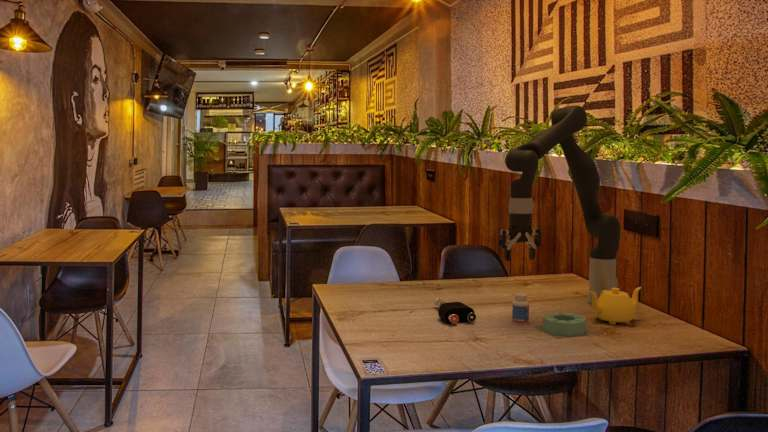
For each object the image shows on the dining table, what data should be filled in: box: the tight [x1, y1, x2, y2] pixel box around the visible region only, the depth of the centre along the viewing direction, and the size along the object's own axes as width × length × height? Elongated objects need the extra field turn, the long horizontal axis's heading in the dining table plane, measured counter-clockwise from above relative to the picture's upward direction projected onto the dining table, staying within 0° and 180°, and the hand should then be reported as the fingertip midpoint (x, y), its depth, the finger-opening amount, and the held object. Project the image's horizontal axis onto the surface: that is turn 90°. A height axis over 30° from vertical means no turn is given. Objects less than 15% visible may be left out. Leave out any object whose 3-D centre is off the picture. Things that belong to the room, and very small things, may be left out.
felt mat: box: [532, 324, 597, 340], centre depth 203 cm, size 14×14×1 cm
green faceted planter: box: [542, 311, 587, 337], centre depth 203 cm, size 12×12×4 cm
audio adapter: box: [433, 297, 477, 325], centre depth 223 cm, size 11×5×25 cm
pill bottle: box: [511, 292, 530, 325], centre depth 212 cm, size 6×5×10 cm
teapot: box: [588, 286, 642, 325], centre depth 214 cm, size 20×15×12 cm
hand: (519, 260), depth 211 cm, fingers open, 8 cm apart
